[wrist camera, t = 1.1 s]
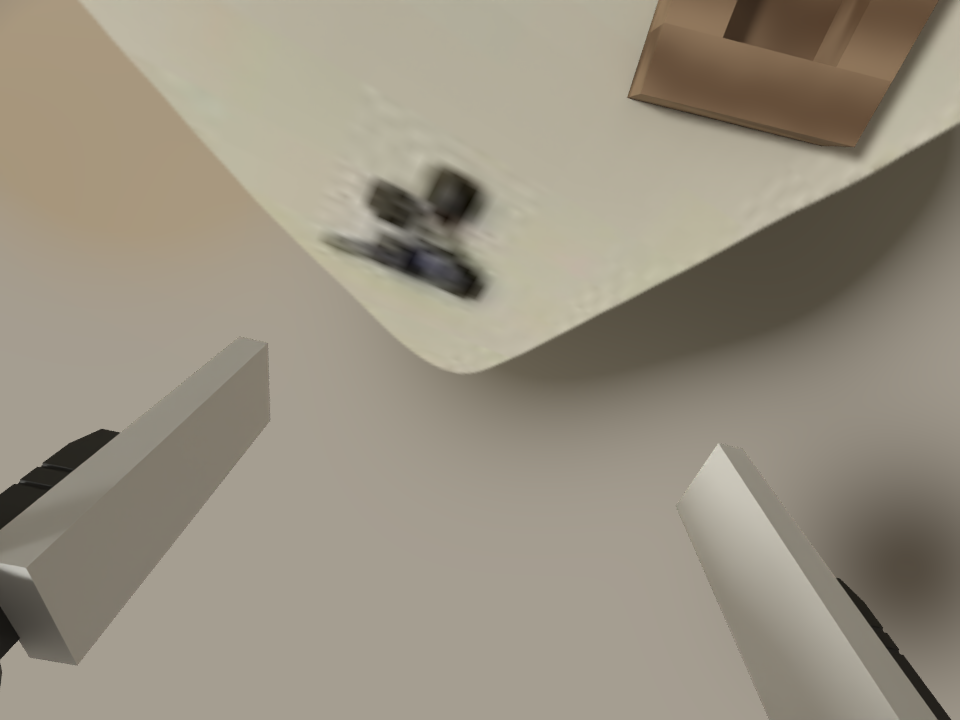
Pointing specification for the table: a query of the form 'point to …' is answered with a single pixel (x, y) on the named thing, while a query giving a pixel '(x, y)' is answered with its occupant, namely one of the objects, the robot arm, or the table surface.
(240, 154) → the table surface
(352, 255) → the table surface
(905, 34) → the well block
